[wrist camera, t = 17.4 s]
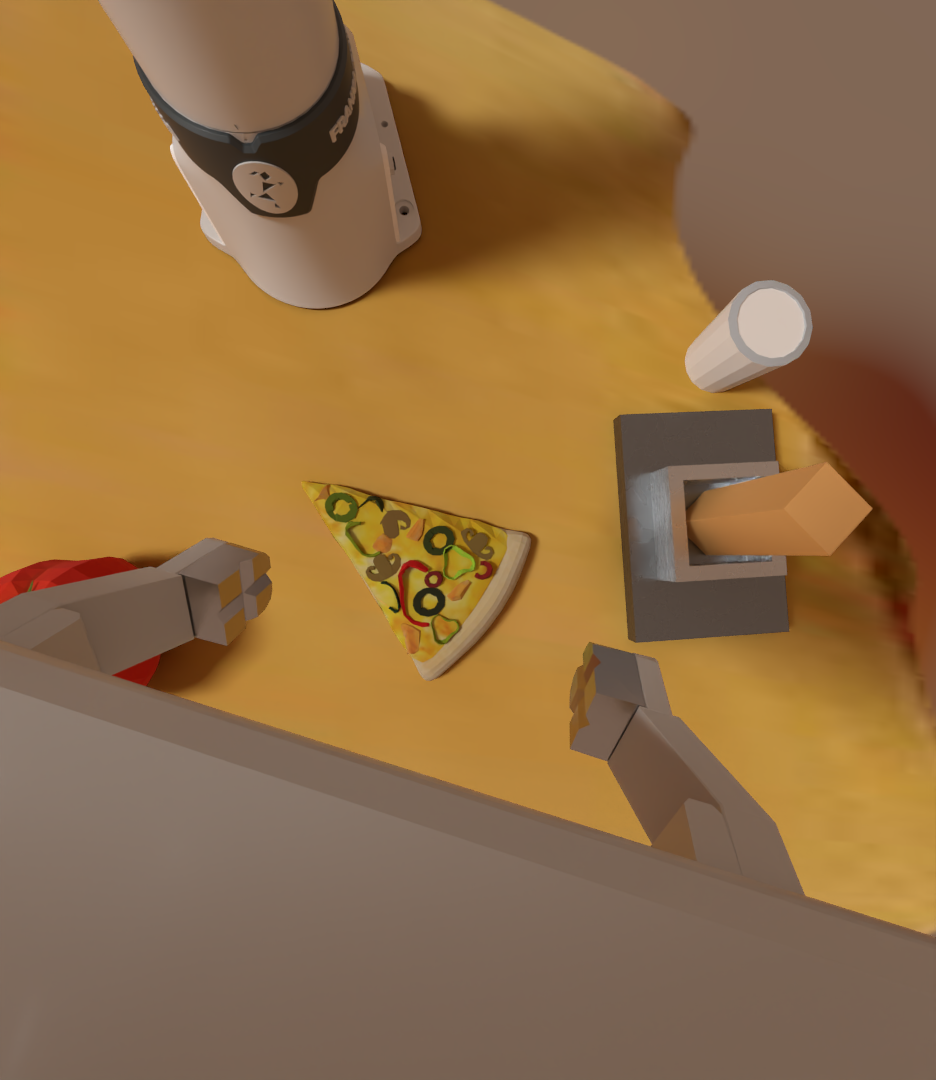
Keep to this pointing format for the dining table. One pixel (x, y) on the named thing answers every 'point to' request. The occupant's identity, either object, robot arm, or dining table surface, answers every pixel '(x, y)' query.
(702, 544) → the orange rectangular block
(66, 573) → the tomato
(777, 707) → the dining table surface
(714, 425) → the square socket plate
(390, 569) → the pizza slice
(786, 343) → the white tapered cup
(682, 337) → the dining table surface
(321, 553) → the dining table surface
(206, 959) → the robot arm
